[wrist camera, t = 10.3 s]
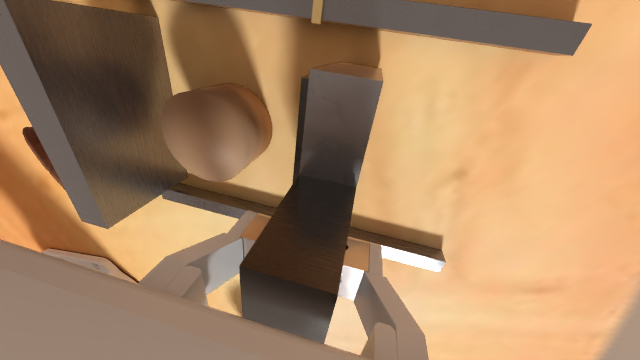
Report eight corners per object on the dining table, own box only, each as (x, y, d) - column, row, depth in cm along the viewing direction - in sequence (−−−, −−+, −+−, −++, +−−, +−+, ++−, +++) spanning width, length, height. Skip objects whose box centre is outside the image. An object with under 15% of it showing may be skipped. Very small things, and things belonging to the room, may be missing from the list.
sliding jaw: (311, 203, 23) (235, 373, 11) (332, 60, 17) (197, 82, 4) (346, 211, 23) (307, 399, 10) (381, 68, 16) (388, 119, 4)
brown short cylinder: (208, 149, 24) (170, 171, 19) (199, 77, 20) (150, 83, 16) (271, 164, 23) (247, 190, 19) (273, 91, 19) (244, 102, 15)
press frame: (173, 193, 28) (95, 247, 20) (119, -36, 17) (-89, -107, 10) (435, 262, 24) (461, 360, 16) (574, 21, 13) (839, -21, 6)
